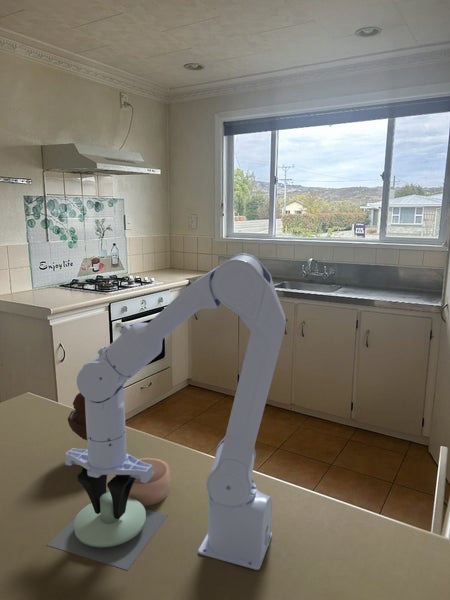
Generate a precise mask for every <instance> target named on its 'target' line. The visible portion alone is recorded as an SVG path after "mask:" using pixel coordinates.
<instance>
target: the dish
mask: <svg viewBox="0 0 450 600" xmlns="http://www.w3.org/2000/svg"><path fill="white" fill-rule="evenodd" d="M137 459H138V460H140V461H142V462H144V463H147V464H151V465H152V470H153V476H152V477H151V479H150V480H149V481H148V482H147V483H143V482H141V480H140V479H138V478H136V479H135V481H134V483H133V485H132V488H131V490H130V493H129V496H128V497H129V498H133V499H135V500H137V501H139V502H140V503H141V504H142V505H143V506H144V507H149V506H153V505H156V504H159V503H160V502H162V501H164V500H165V499H166V498H168V496H169V495H170V491H171V469H170V466H169V464H168V463H167V462H166V461H164V460H162V459H160V458H154V457H142V458H137Z"/></svg>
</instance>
